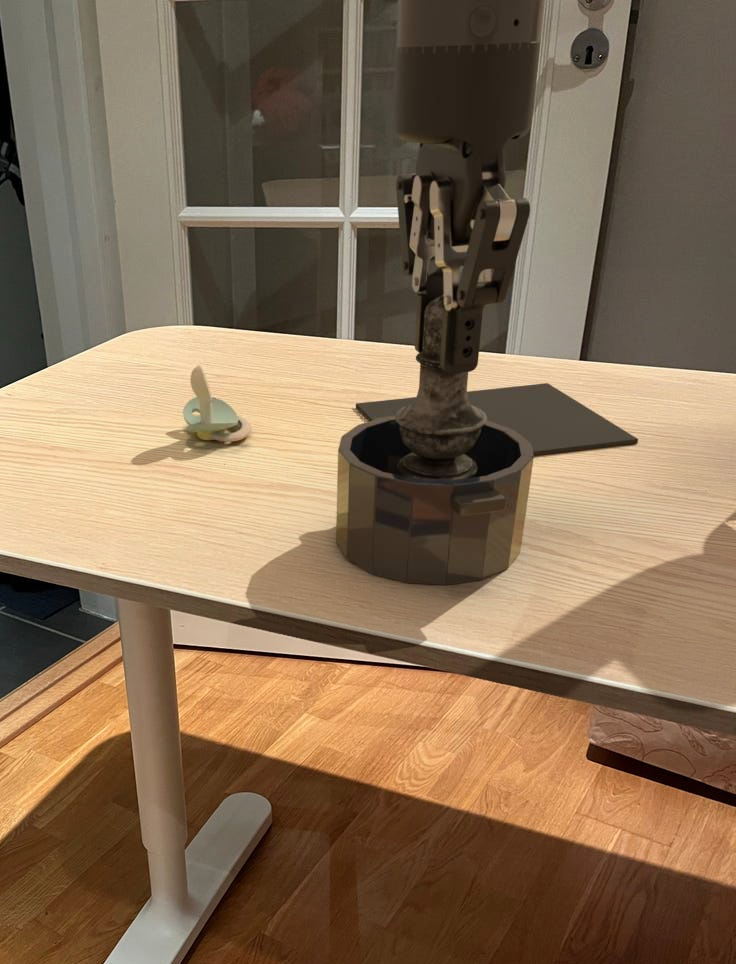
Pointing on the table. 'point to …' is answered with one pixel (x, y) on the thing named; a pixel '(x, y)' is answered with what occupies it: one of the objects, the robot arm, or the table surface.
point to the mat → (531, 417)
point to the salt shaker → (438, 414)
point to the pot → (431, 507)
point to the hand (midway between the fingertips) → (444, 360)
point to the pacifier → (211, 413)
